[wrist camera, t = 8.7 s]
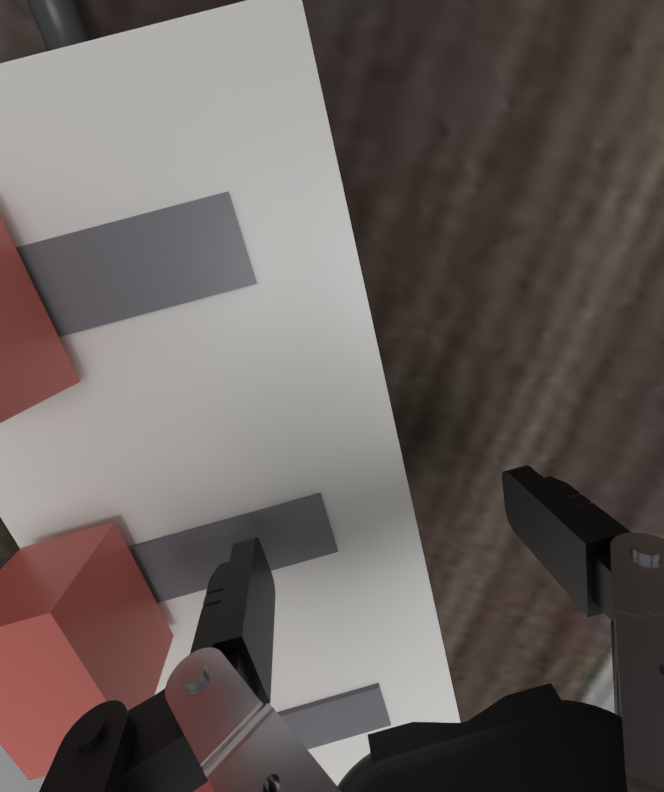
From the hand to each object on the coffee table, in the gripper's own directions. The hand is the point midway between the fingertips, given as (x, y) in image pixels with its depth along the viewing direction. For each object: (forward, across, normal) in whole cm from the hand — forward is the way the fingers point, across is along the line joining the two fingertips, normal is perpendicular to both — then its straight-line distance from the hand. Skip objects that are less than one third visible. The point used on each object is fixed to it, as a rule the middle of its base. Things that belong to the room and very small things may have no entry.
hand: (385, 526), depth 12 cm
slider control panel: (+6, +5, -3) cm, 8 cm away
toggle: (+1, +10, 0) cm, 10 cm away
